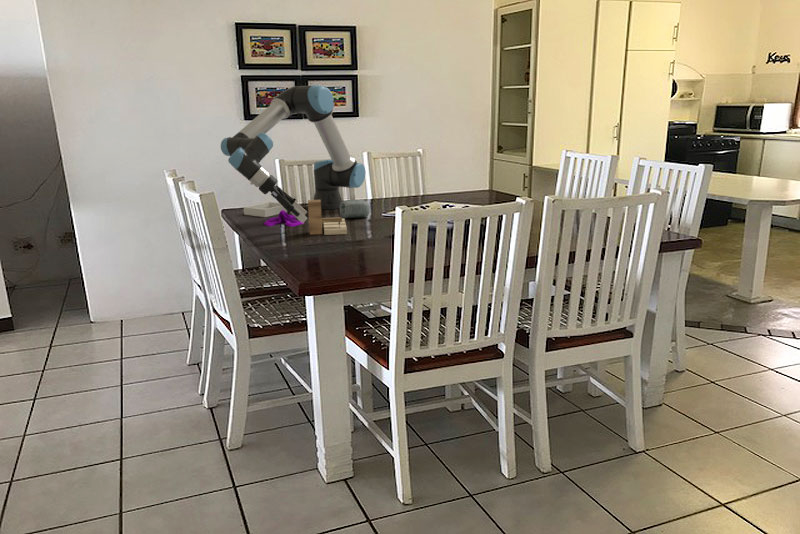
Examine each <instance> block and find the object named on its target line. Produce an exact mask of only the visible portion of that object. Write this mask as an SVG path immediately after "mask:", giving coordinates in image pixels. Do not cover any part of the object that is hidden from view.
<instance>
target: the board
mask: <svg viewBox="0 0 800 534" xmlns="http://www.w3.org/2000/svg"><path fill="white" fill-rule="evenodd" d="M323 232H324V233H323V235H324V236H329V235H330V236H331V235H348V227H347V224H346V219H345V218H342V222H340V224H339V222H330V223H323Z"/></svg>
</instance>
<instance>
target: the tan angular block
mask: <svg viewBox="0 0 800 534" xmlns="http://www.w3.org/2000/svg"><path fill="white" fill-rule="evenodd" d="M307 207H308V208H307V210H308V211H307V213H308V224H309V226H308V228H309V235H323V224H324V223H330V222H339V224H340V222H342V219H343V218H342V216H341V217H339V216H338V217H322V209H321V200H313V199H308V200H307Z"/></svg>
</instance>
